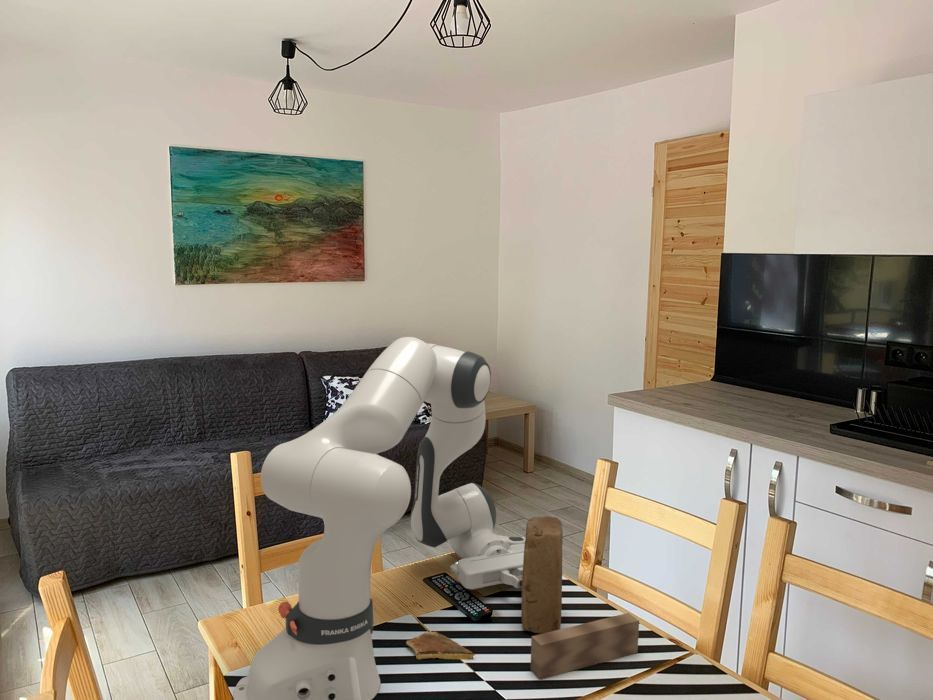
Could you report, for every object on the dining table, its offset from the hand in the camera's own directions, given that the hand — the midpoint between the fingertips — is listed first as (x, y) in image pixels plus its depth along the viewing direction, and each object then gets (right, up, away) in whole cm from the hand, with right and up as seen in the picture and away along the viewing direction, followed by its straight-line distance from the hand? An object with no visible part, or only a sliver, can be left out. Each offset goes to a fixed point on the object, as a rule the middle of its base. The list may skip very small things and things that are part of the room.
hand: (523, 583), depth 140 cm
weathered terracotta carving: (+3, -6, -5) cm, 8 cm away
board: (+9, -7, -18) cm, 22 cm away
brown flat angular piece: (-16, -7, -14) cm, 23 cm away
